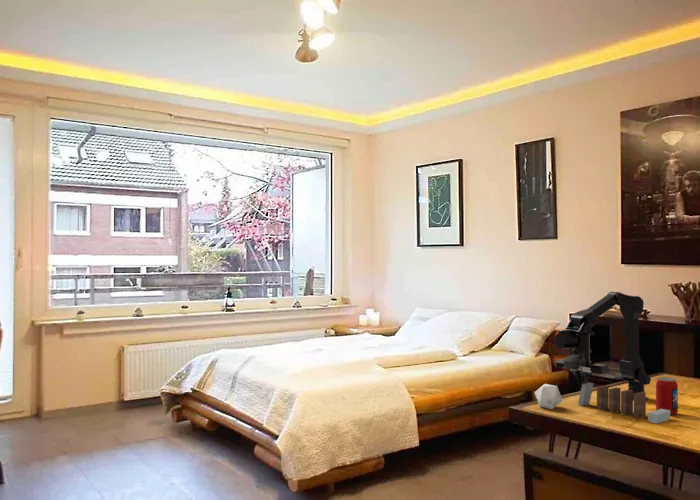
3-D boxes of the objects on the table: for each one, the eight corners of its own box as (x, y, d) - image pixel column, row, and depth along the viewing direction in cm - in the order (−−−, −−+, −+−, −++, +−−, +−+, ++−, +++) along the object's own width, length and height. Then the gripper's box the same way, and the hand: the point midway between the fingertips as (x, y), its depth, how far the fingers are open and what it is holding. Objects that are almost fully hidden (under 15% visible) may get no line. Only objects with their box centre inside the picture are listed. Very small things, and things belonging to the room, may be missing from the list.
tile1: (596, 409, 218) (596, 387, 219) (604, 407, 221) (604, 385, 222) (601, 410, 217) (601, 387, 217) (608, 408, 220) (608, 386, 220)
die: (540, 412, 216) (558, 391, 214) (525, 395, 224) (542, 375, 221) (553, 417, 221) (571, 397, 219) (539, 400, 228) (556, 381, 226)
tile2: (608, 411, 215) (608, 389, 215) (616, 409, 218) (616, 387, 218) (613, 412, 214) (613, 389, 214) (620, 410, 217) (620, 388, 217)
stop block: (661, 417, 207) (661, 408, 207) (670, 419, 205) (670, 410, 205) (648, 421, 202) (648, 412, 202) (657, 423, 199) (657, 414, 199)
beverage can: (680, 416, 209) (680, 381, 209) (659, 415, 211) (659, 380, 211) (674, 411, 216) (674, 377, 216) (653, 410, 217) (653, 376, 217)
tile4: (633, 417, 208) (633, 393, 208) (641, 415, 211) (641, 391, 211) (638, 418, 206) (638, 394, 207) (645, 415, 209) (645, 392, 210)
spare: (577, 404, 224) (582, 383, 223) (585, 402, 227) (589, 382, 226) (581, 406, 223) (586, 385, 222) (589, 404, 226) (593, 383, 225)
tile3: (621, 414, 211) (621, 391, 211) (628, 412, 214) (628, 389, 214) (625, 415, 210) (625, 392, 210) (632, 413, 213) (632, 390, 213)
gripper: (546, 346, 229) (547, 388, 229) (592, 352, 214) (592, 397, 214) (564, 343, 236) (564, 384, 235) (609, 349, 221) (609, 392, 220)
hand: (581, 389), depth 226 cm, fingers closed
